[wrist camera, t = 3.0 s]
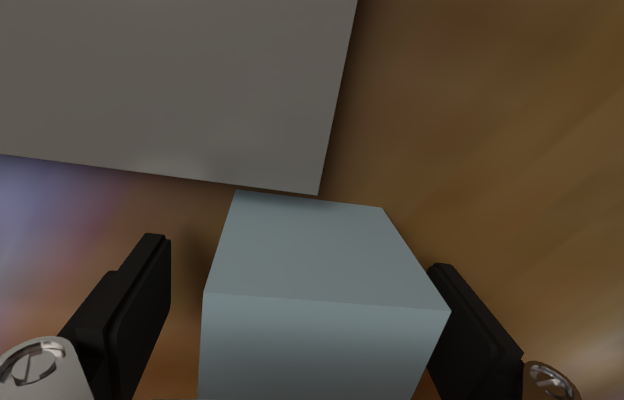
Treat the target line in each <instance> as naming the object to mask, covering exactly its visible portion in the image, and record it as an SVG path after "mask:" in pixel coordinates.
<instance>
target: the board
mask: <svg viewBox="0 0 624 400" xmlns="http://www.w3.org/2000/svg"><path fill="white" fill-rule="evenodd" d="M357 1H358V0H0V154H6V155H13V156H21V157H29V158H36V159H44V160H51V161H59V162H67V163H74V164H82V165H89V166H97V167H105V168H112V169H120V170H127V171H135V172H143V173H150V174H158V175H165V176H173V177H180V178H188V179H196V180H203V181H211V182H218V183H226V184H234V185H241V186H249V187H256V188H264V189H272V190H279V191H287V192H294V193H302V194H310V195H318V190H319V185H320V180H321V175H322V171H323V166H324V161H325V156H326V151H327V146H328V142H329V137H330V132H331V127H332V122H333V117H334V112H335V108H336V103H337V98H338V93H339V88H340V83H341V79H342V74H343V69H344V64H345V59H346V54H347V49H348V45H349V40H350V35H351V30H352V25H353V20H354V16H355V11H356V6H357Z"/></svg>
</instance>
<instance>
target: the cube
mask: <svg viewBox="0 0 624 400" xmlns="http://www.w3.org/2000/svg"><path fill="white" fill-rule="evenodd" d="M450 314H451V310H450V308H449V307H448V305H447V304H446V302H445V301H444V299H443V298H442V296H441V295H440V293H439V292H438V290H437V289H436V287H435V286H434V284H433V283H432V281H431V280H430V278H429V277H428V276H427V274H426V273H425V271H424V270H423V268H422V267H421V265H420V264H419V262H418V261H417V259H416V258H415V256H414V255H413V253H412V252H411V250H410V249H409V247H408V246H407V244H406V243H405V241H404V240H403V239H402V237H401V236H400V234H399V233H398V231H397V230H396V228H395V227H394V225H393V224H392V222H391V221H390V219H389V218H388V216H387V215H386V213H385V212H384V210H383V209H382V208H379V207H371V206H363V205H356V204H348V203H340V202H333V201H325V200H317V199H309V198H302V197H294V196H286V195H279V194H271V193H263V192H255V191H248V190H240V189H236V190H235V193H234V197H233V200H232V203H231V206H230V209H229V212H228V216H227V219H226V222H225V225H224V228H223V231H222V235H221V238H220V241H219V244H218V247H217V250H216V254H215V257H214V260H213V263H212V266H211V269H210V273H209V276H208V279H207V282H206V285H205V288H204V292H203V306H202V323H201V340H200V357H199V374H198V392H197V399H220V400H411V398H412V396H413V393H414V391H415V389H416V387H417V385H418V383H419V380H420V378H421V376H422V374H423V372H424V370H425V368H426V365H427V363H428V361H429V359H430V357H431V355H432V352H433V350H434V348H435V346H436V344H437V342H438V339H439V337H440V335H441V333H442V331H443V329H444V327H445V324H446V322H447V320H448V318H449V316H450Z"/></svg>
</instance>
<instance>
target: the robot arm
mask: <svg viewBox="0 0 624 400" xmlns="http://www.w3.org/2000/svg"><path fill="white" fill-rule="evenodd" d="M426 274H427V276H428V277H429V278H430V280H431V281H432V283H433V284H434V286H435V287H436V289H437V290H438V292H439V293H440V295H441V296H442V298H443V299H444V301H445V302H446V304H447V305H448V307H449V308H450V310H451V314H450V316H449V318H448V320H447V322H446V324H445V327H444V329H443V331H442V333H441V335H440V337H439V339H438V342H437V344H436V346H435V348H434V350H433V352H432V355H431V357H430V359H429V361H428V363H427V365H426V367H427V369H428V371H429V374H430V376H431V378H432V380H433V382H434V384H435V386H436V388H437V391H438V393H439V395H440V397H441V399H442V400H582V399H581V396H580V393H579V391H578V390H577V388H576V387H575V385H574V384H573V383H572V382H571V381H570V380H569V379H568V378H567V377H566V376H564V375H563V374H562V373H560V372H559V371H558V370H556V369H554V368H553V367H551V366H549V365H547V364H544V363H542V362H538V361H528V362H527V363H525V364H524V363H523V361H522V360H521V357H522V356H523V354H524V352H523V351H522V350H521V349H520V347H519V346H518V345H517V344H516V342H515V341H514V340H513V339H512V338H511V336H510V335H509V334H508V333H507V331H506V330H505V329H504V328H503V327H502V325H501V324H500V323H499V322H498V320H497V319H496V318H495V317H494V316H493V314H492V313H491V312H490V311H489V309H488V308H487V307H486V306H485V305H484V303H483V302H482V301H481V300H480V298H479V297H478V296H477V295H476V294H475V292H474V291H473V290H472V289H471V287H470V286H469V285H468V284H467V283H466V281H465V280H464V279H463V278H462V276H461V275H460V274H459V273H458V272H457V270H456V269H455V268H454V267H453V266H452V265H451V264H444V263H434V264H433V266H430V267H429V268H428V270H427V273H426ZM170 305H171V240H168V239H166V238H165V235H162V234H152V233H145V234H144V236H143V237H142V238H141V240H140V241H139V242H138V244H137V245H136V246H135V248H134V249H133V250H132V252H131V253H130V254H129V256H128V257H127V258H126V260H125V261H124V262H123V264H122V265H121V266H120V268H119V269H118V271H108V272H107V273H106V274H105V275H104V276H103V278H102V279H101V280H100V281H99V283H98V284H97V285H96V287H95V288H94V289H93V290H92V292H91V293H90V294H89V295H88V297H87V298H86V299H85V301H84V302H83V303H82V304H81V306H80V307H79V308H78V309H77V311H76V312H75V313H74V315H73V316H72V317H71V318H70V320H69V321H68V322H67V323H66V325H65V326H64V327H63V329H62V330H61V331H60V332H59V334H58V335H57V336H46V337H39V338H35V339H32V340H28V341H26V342H24V343H22V344H19V345H17V346H15V347H13V348H12V349H10V350H9V351H7V352H6V353H4V354H3V355H2V356H1V357H0V400H132V398H133V395H134V393H135V391H136V388H137V386H138V384H139V381H140V379H141V377H142V374H143V372H144V370H145V367H146V365H147V362H148V360H149V358H150V355H151V353H152V351H153V348H154V346H155V344H156V341H157V339H158V337H159V334H160V332H161V329H162V327H163V325H164V322H165V320H166V318H167V315H168V313H169V310H170ZM154 400H220V399H154Z"/></svg>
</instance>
